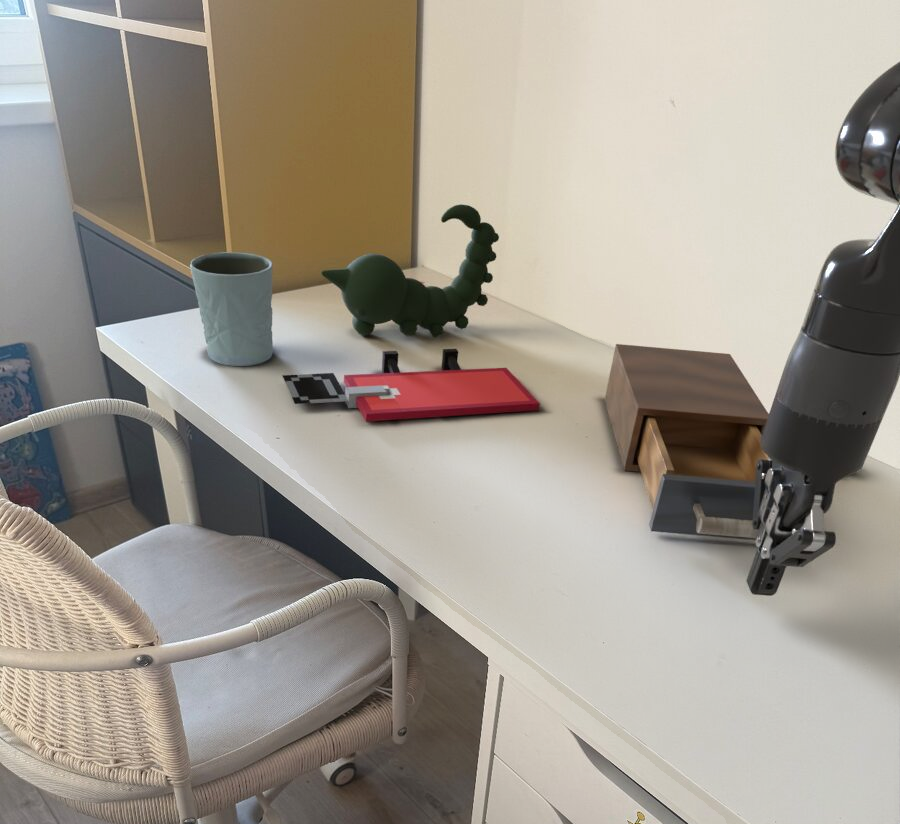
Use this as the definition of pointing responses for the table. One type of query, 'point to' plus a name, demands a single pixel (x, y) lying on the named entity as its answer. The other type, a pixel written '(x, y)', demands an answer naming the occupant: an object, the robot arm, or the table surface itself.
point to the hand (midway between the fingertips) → (759, 589)
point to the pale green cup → (235, 306)
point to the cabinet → (675, 392)
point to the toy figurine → (417, 285)
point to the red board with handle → (417, 390)
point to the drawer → (700, 475)
